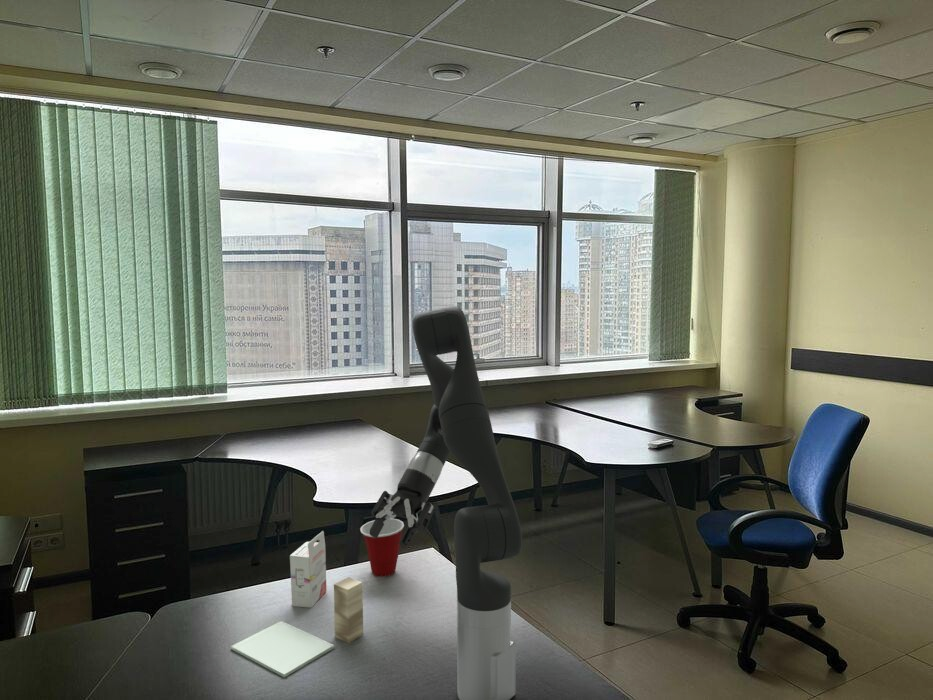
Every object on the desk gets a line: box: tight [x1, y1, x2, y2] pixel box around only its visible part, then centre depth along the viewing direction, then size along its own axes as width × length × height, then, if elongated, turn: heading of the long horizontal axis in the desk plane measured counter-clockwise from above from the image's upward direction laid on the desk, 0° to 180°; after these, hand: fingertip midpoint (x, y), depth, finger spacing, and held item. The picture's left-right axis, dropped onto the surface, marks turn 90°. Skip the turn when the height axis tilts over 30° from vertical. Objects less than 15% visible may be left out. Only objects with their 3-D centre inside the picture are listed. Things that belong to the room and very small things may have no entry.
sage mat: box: [230, 620, 335, 678], centre depth 127 cm, size 16×12×1 cm
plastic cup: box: [359, 518, 405, 578], centre depth 161 cm, size 11×11×12 cm
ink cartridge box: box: [289, 530, 327, 609], centre depth 147 cm, size 9×5×15 cm, turn 168°
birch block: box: [333, 576, 364, 644], centre depth 131 cm, size 4×4×11 cm
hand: (387, 541), depth 140 cm, fingers open, 8 cm apart
